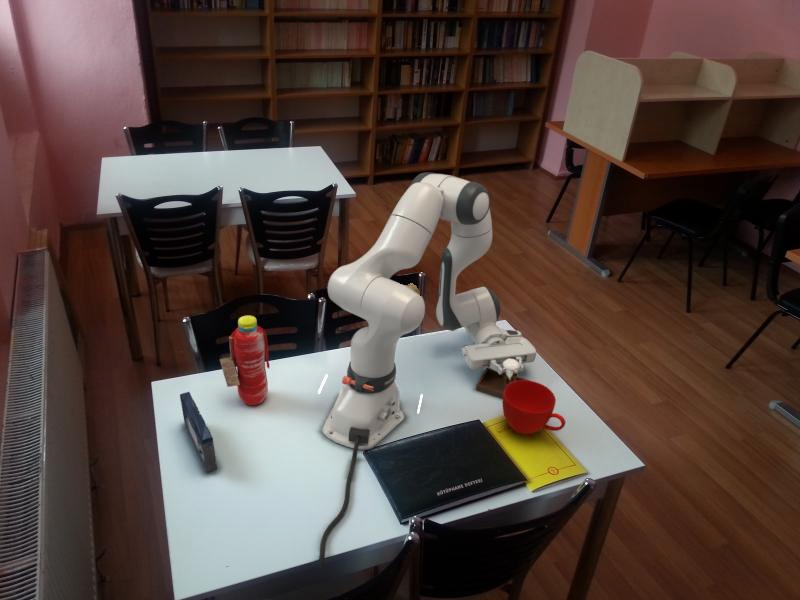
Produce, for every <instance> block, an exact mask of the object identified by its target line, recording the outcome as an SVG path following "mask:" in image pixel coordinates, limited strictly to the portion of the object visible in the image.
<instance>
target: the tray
mask: <svg viewBox="0 0 800 600" xmlns="http://www.w3.org/2000/svg"><path fill="white" fill-rule="evenodd" d="M519 380H528V381H531V380H530V379H527V378H523V377H519V376H517V379H516V381H519ZM475 390H476V391H478V392H481V393H484V394H488V395H491V396H494V397H497V398H501V399H503V394H504V389H503V374H501V375H499V373H498V372H497V371H495V370H493V369H491V368H484V371H483V373H482V375H481V376H480V378H479V381H478V382H477V383H476V388H475Z"/></svg>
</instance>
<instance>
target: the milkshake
mask: <svg viewBox="0 0 800 600" xmlns="http://www.w3.org/2000/svg"><path fill="white" fill-rule="evenodd" d="M502 364H503V368H504V369H505V374H503V389H504V390H505V388H506V386H507V385H508V384H510V383H512V382H514V381H516V379H517V377H518V374H519V372H518V371H519V367H520V364H519V363H518V361H516V360H514V359H507V360H505V361H504V362H503V363H502Z"/></svg>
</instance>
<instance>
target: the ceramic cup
mask: <svg viewBox="0 0 800 600" xmlns="http://www.w3.org/2000/svg"><path fill="white" fill-rule="evenodd" d="M528 380H529V379H527V380H519V381H514V382H512V383H510V384H508V385H507V386H506V388H505V390H504V394H503V398H502V413H503V416H504V419H505V420H506V422H507V424H508V425H509V426H510V428H511V429H512V431H514V432H516V433H518V434H520V435H524V436H527V435H529V436H530V435H532V434H535V433H537V432H539V431H541V430H542V429H545V430H547V431H554V432H557V431H561V430H562V429H564V427H565V426H566V419H565V418H564V417H563V416H562V415H561V414H559V413H554V409H555V407H556V401H557V400H556V396H555V394H554V392H553V391H552V390H551V389H550V388H549V387H547V386H545V385H544V384H542V383H539V382H537V381H535V380H534V381H533V380H530V381H528ZM552 418H554V419H555V418H556V419H557V420H559V422H560V426H552V425H548V423H549V421H550V419H552Z"/></svg>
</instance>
